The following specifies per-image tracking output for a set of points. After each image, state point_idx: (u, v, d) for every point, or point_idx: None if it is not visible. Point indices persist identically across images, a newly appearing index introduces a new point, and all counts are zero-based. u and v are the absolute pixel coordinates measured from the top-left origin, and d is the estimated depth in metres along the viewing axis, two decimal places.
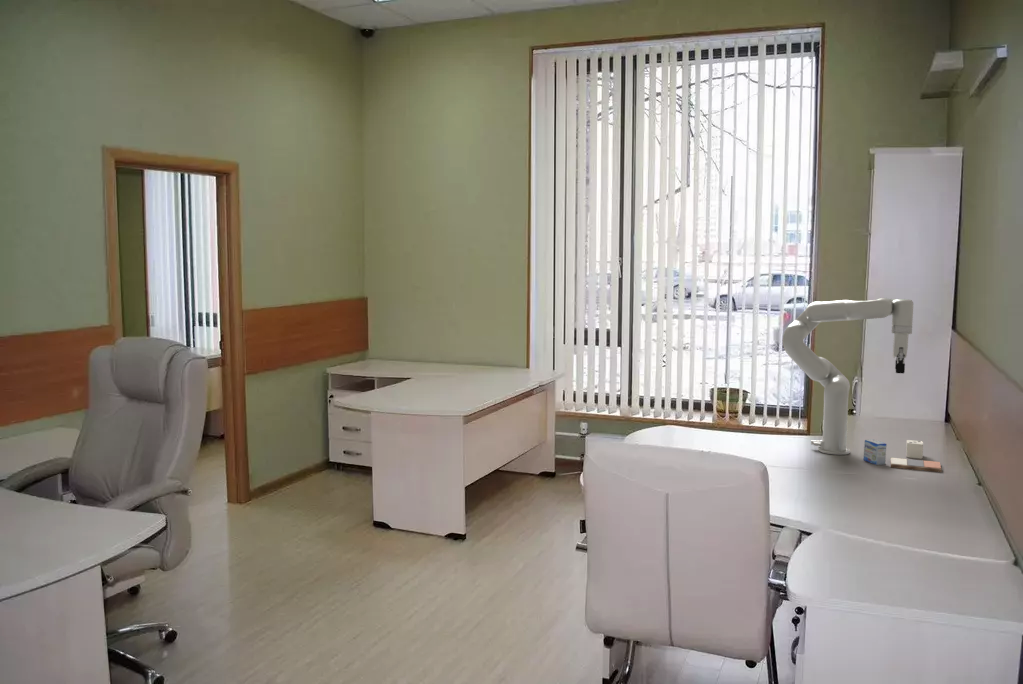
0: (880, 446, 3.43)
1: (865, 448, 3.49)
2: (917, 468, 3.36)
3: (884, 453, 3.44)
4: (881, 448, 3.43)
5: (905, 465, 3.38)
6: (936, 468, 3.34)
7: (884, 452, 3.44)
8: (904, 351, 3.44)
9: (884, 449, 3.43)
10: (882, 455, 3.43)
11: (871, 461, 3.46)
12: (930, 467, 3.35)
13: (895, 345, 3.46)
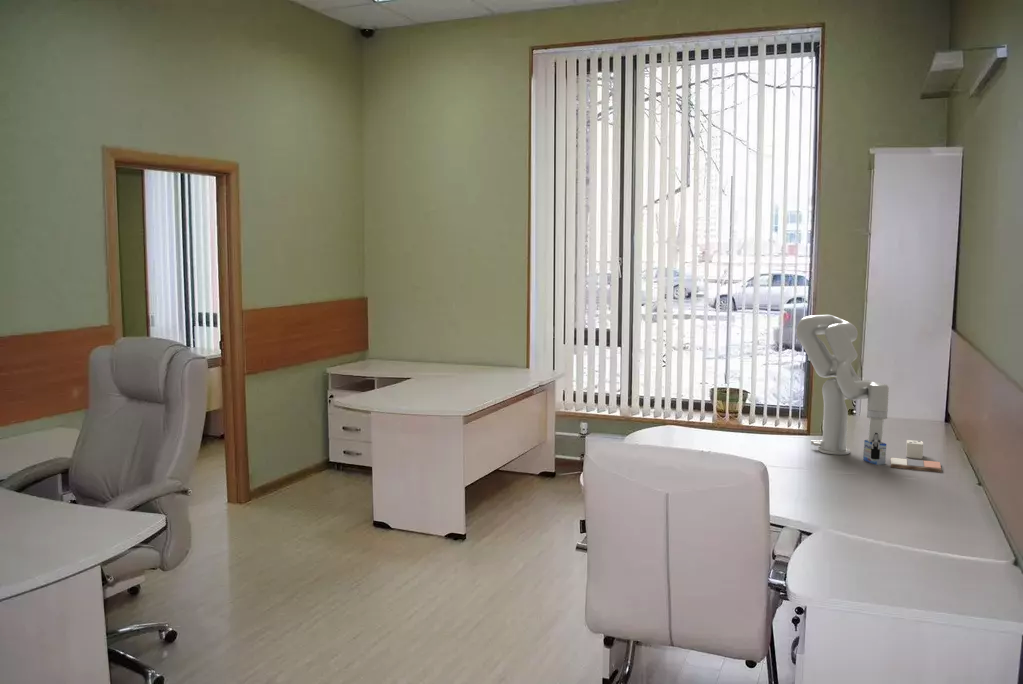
0: (880, 446, 3.43)
1: (865, 448, 3.49)
2: (917, 468, 3.36)
3: (884, 453, 3.44)
4: (881, 448, 3.43)
5: (905, 465, 3.38)
6: (936, 468, 3.34)
7: (884, 452, 3.44)
8: (879, 437, 3.41)
9: (884, 449, 3.43)
10: (882, 455, 3.43)
11: (871, 461, 3.46)
12: (930, 467, 3.35)
13: (870, 430, 3.42)
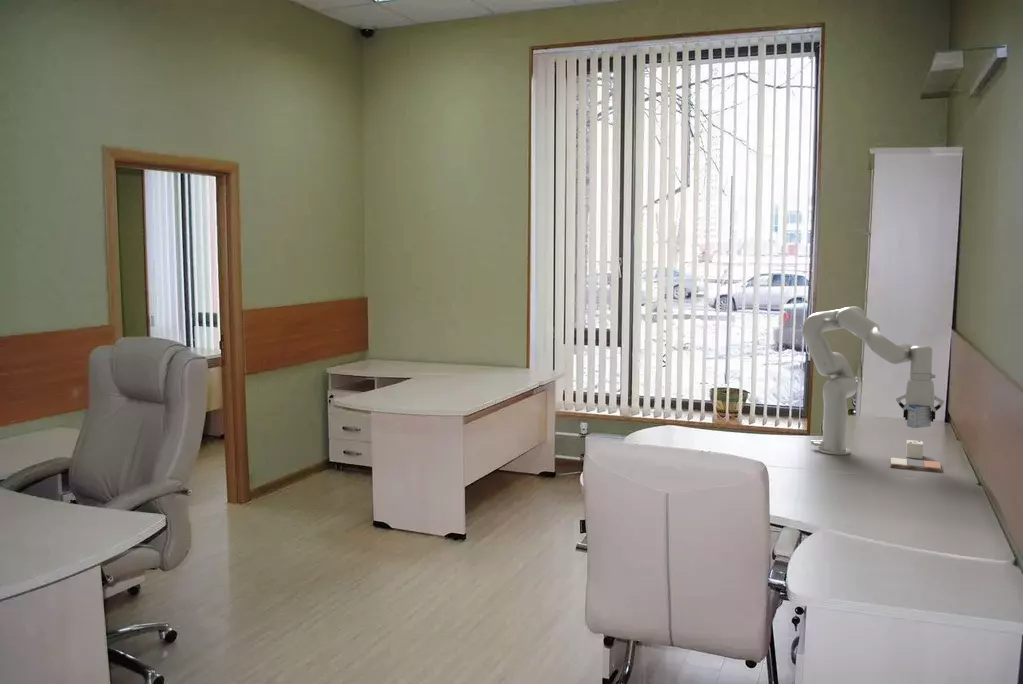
0: (910, 408, 3.38)
1: None
2: (917, 468, 3.36)
3: (913, 416, 3.37)
4: (910, 410, 3.38)
5: (905, 465, 3.38)
6: (936, 468, 3.34)
7: (913, 415, 3.36)
8: (905, 397, 3.39)
9: (913, 412, 3.36)
10: (911, 418, 3.38)
11: None
12: (930, 467, 3.35)
13: None
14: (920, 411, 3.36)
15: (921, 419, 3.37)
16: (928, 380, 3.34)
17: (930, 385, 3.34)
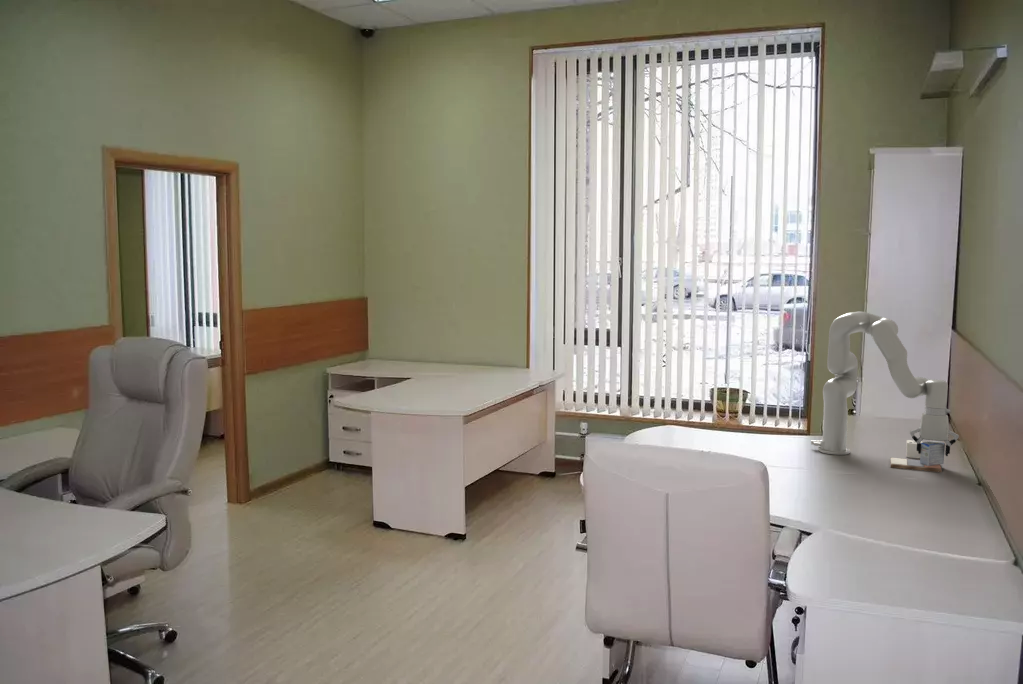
0: (923, 445, 3.38)
1: None
2: (917, 468, 3.36)
3: (927, 454, 3.36)
4: (924, 448, 3.37)
5: (905, 465, 3.38)
6: (936, 468, 3.34)
7: (927, 453, 3.36)
8: (920, 431, 3.38)
9: (927, 450, 3.36)
10: (925, 456, 3.37)
11: None
12: (930, 467, 3.35)
13: None
14: (934, 449, 3.36)
15: (934, 457, 3.37)
16: (943, 415, 3.33)
17: (945, 420, 3.34)
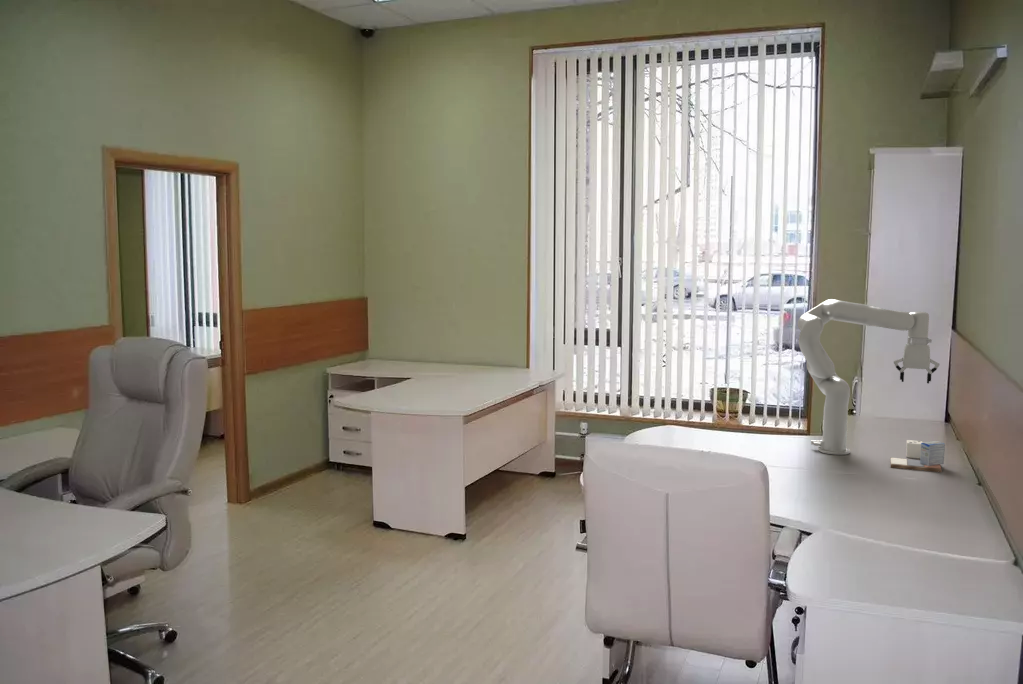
0: (923, 445, 3.38)
1: None
2: (917, 468, 3.36)
3: (927, 454, 3.36)
4: (924, 448, 3.37)
5: (905, 465, 3.38)
6: (936, 468, 3.34)
7: (927, 453, 3.36)
8: (903, 360, 3.58)
9: (927, 450, 3.36)
10: (925, 456, 3.37)
11: None
12: (930, 467, 3.35)
13: None
14: (934, 449, 3.36)
15: (934, 457, 3.37)
16: (924, 344, 3.53)
17: (926, 349, 3.53)
